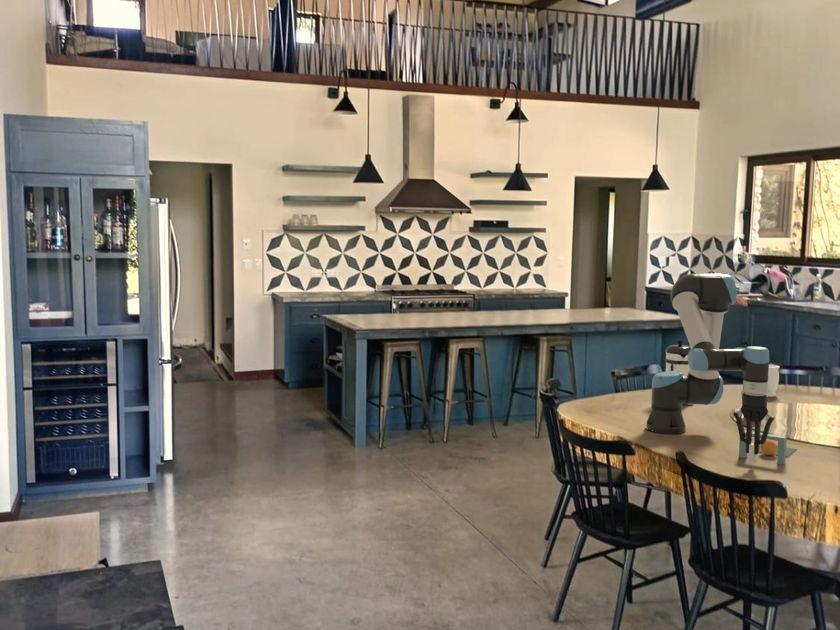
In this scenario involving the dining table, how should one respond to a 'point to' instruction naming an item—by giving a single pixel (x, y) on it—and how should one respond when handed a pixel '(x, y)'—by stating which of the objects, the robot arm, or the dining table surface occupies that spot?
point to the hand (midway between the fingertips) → (751, 463)
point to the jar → (772, 380)
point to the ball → (769, 447)
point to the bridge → (781, 439)
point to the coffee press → (678, 358)
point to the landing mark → (788, 451)
